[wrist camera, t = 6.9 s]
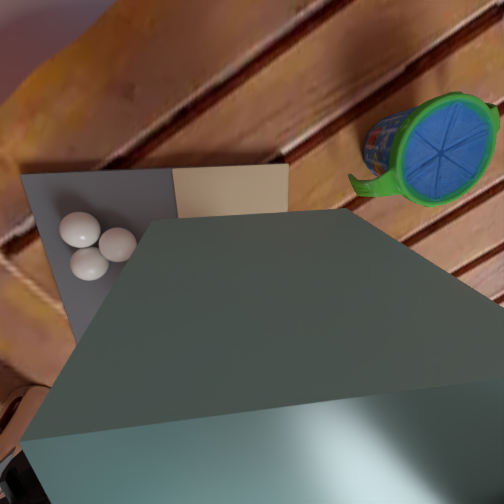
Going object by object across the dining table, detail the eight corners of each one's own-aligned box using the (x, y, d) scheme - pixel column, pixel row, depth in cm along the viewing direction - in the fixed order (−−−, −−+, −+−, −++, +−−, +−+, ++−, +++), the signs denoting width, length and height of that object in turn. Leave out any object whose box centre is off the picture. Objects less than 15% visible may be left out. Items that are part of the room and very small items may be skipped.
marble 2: (82, 272, 27) (69, 288, 25) (74, 242, 26) (58, 256, 24) (116, 269, 28) (106, 285, 25) (109, 240, 27) (97, 253, 24)
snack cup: (440, 75, 26) (522, 57, 19) (451, 158, 29) (525, 168, 22) (321, 134, 26) (359, 137, 20) (345, 208, 30) (385, 234, 23)
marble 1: (73, 241, 26) (58, 254, 23) (64, 208, 25) (46, 218, 22) (109, 238, 27) (97, 252, 24) (101, 206, 25) (88, 216, 23)
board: (89, 364, 33) (84, 373, 32) (26, 172, 24) (17, 175, 23) (281, 342, 35) (283, 350, 34) (285, 162, 27) (288, 163, 26)
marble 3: (109, 254, 27) (98, 269, 24) (101, 223, 26) (89, 235, 23) (142, 252, 27) (135, 266, 25) (136, 221, 26) (128, 233, 24)
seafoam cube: (177, 371, 17) (138, 667, 8) (152, 220, 13) (18, 442, 4) (330, 353, 18) (456, 598, 9) (346, 208, 14) (595, 365, 5)
